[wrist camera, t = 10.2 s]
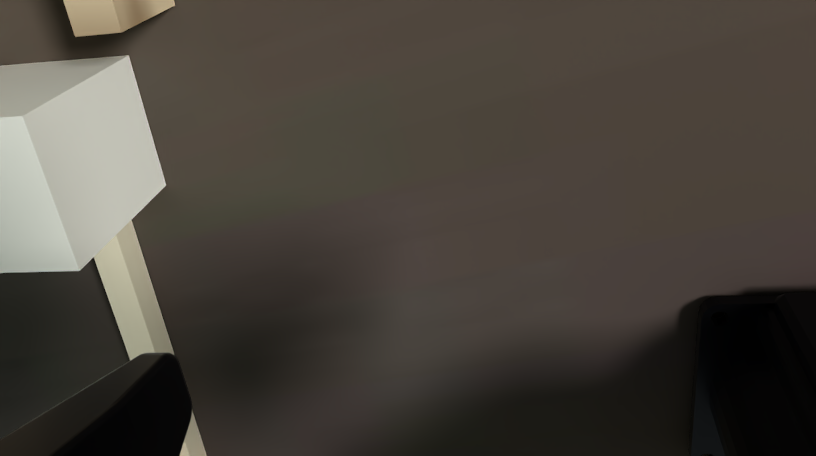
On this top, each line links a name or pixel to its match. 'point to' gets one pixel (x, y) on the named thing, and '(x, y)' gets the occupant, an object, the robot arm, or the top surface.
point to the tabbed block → (82, 187)
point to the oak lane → (111, 14)
